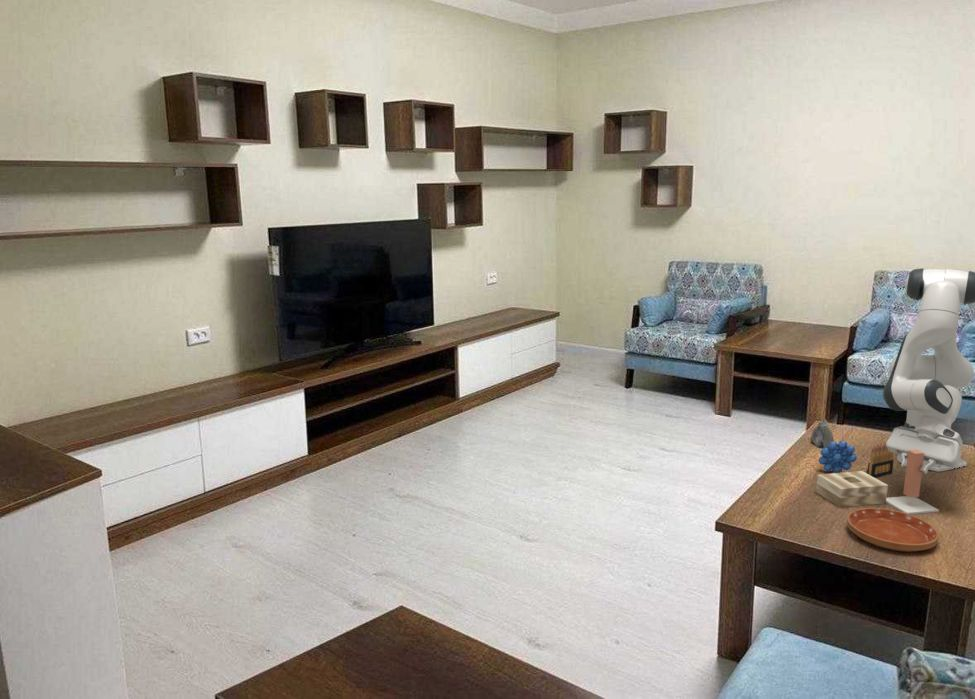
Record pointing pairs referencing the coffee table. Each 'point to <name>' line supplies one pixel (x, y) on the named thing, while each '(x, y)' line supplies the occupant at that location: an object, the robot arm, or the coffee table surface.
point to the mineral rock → (822, 435)
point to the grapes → (837, 456)
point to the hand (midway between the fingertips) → (913, 469)
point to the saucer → (892, 529)
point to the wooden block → (913, 473)
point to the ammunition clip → (880, 461)
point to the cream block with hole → (851, 489)
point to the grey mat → (910, 505)
